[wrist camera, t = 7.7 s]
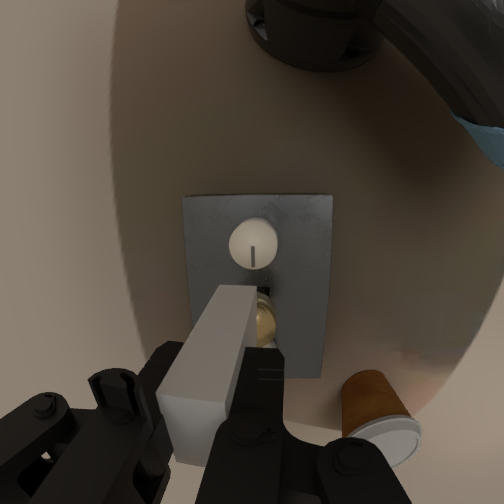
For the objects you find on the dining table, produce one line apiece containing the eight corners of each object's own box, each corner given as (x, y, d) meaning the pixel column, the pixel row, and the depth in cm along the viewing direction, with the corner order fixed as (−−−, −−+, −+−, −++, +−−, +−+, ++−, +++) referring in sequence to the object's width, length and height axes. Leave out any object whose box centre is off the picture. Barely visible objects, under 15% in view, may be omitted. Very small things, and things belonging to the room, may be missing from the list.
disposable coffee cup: (321, 409, 35) (327, 478, 24) (342, 356, 33) (360, 427, 21) (381, 412, 35) (400, 474, 23) (407, 361, 32) (441, 423, 21)
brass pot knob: (236, 279, 28) (223, 306, 23) (277, 280, 28) (275, 307, 22) (237, 316, 29) (226, 348, 24) (277, 317, 29) (275, 351, 23)
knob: (238, 213, 30) (227, 222, 24) (278, 213, 29) (277, 222, 24) (240, 251, 31) (229, 269, 25) (278, 251, 30) (277, 269, 24)
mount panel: (191, 195, 30) (181, 197, 27) (327, 193, 29) (332, 195, 26) (204, 359, 35) (199, 373, 32) (317, 363, 33) (319, 377, 31)
